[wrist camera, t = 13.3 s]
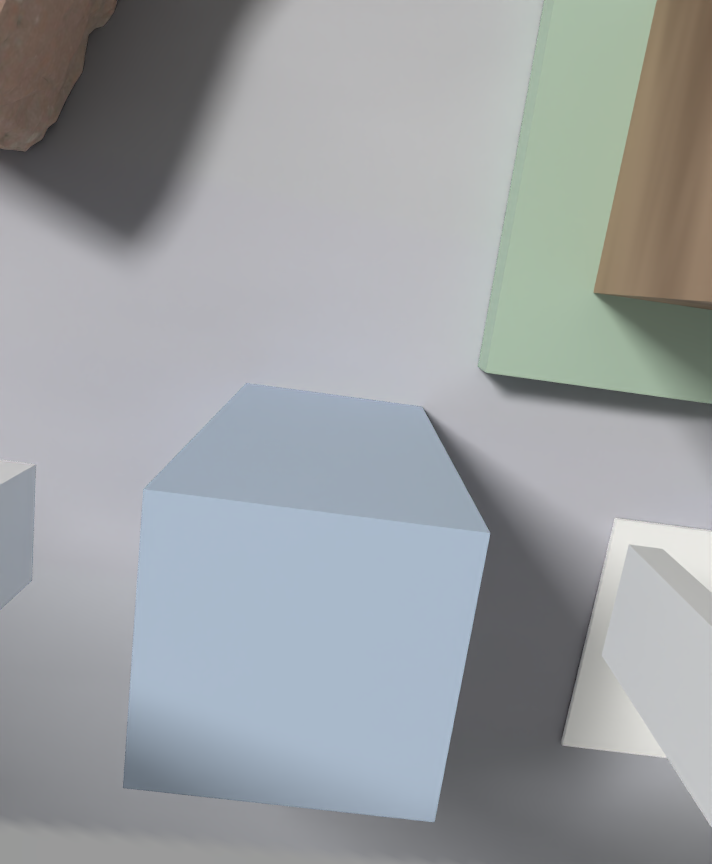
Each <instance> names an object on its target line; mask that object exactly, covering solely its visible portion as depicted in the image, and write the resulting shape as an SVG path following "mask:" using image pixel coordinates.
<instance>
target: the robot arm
mask: <svg viewBox="0 0 712 864" xmlns="http://www.w3.org/2000/svg"><path fill="white" fill-rule="evenodd" d="M35 478H36V464H30V463H23V462H15V461H8V460H0V610H1V609H2V608H3V607H4V606H5V605H6V604H7V603H8V602H9V601H10V600H11V599H13V598H14V597H15V596H16V595H17V594H18V593H19V592H20V591H21V590H22V589H23V588H24V587H26V586H27V585H28V584H29V583H30V582H31V581H32V565H33V536H34V507H35ZM602 657H603V658H604V660H605V661H606V663H607V664H608V666H609V668H610V669H611V671H612V672H613V674H614V675H615V677H616V678H617V680H618V682H619V683H620V685H621V686H622V688H623V689H624V691H625V693H626V694H627V696H628V697H629V699H630V700H631V702H632V704H633V705H634V707H635V708H636V710H637V711H638V713H639V715H640V716H641V718H642V719H643V721H644V722H645V724H646V726H647V727H648V729H649V730H650V732H651V733H652V735H653V737H654V738H655V740H656V741H657V743H658V744H659V746H660V747H661V749H662V751H663V752H664V754H665V755H666V757H667V758H668V760H669V762H670V763H671V765H672V766H673V768H674V769H675V771H676V773H677V774H678V776H679V777H680V779H681V780H682V782H683V784H684V785H685V787H686V788H687V790H688V791H689V793H690V795H691V796H692V798H693V799H694V801H695V802H696V804H697V806H698V807H699V809H700V810H701V812H702V813H703V815H704V816H705V818H706V820H707V821H708V823H709V824H710V826H711V827H712V593H711V592H710V591H709V590H708V589H707V588H706V587H705V586H704V585H702V584H701V583H700V582H699V581H698V580H697V579H696V578H695V577H694V576H692V575H691V574H690V573H689V572H688V571H687V570H686V569H685V568H684V567H682V566H681V565H680V564H679V563H678V562H677V561H676V560H675V559H673V558H672V557H671V556H670V555H669V554H668V553H667V552H666V551H665V550H663V549H660V548H653V547H645V546H638V545H631V544H629V546H628V550H627V554H626V558H625V562H624V566H623V570H622V574H621V578H620V582H619V586H618V591H617V595H616V599H615V603H614V607H613V611H612V615H611V619H610V623H609V627H608V631H607V635H606V639H605V644H604V648H603V652H602Z"/></svg>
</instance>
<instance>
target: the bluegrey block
mask: <svg viewBox="0 0 712 864" xmlns="http://www.w3.org/2000/svg"><path fill="white" fill-rule="evenodd" d="M489 538H490V532H489V530H488V528H487V526H486V524H485V522H484V520H483V519H482V517H481V515H480V513H479V511H478V509H477V507H476V506H475V504H474V502H473V500H472V498H471V496H470V494H469V493H468V491H467V489H466V487H465V485H464V483H463V482H462V480H461V478H460V476H459V474H458V472H457V470H456V469H455V467H454V465H453V463H452V461H451V459H450V457H449V456H448V454H447V452H446V450H445V448H444V446H443V444H442V443H441V441H440V439H439V437H438V435H437V433H436V432H435V430H434V428H433V426H432V424H431V422H430V420H429V419H428V417H427V415H426V413H425V411H424V409H423V407H421V406H414V405H406V404H399V403H391V402H384V401H376V400H369V399H361V398H354V397H346V396H339V395H331V394H324V393H316V392H309V391H301V390H294V389H286V388H279V387H271V386H264V385H256V384H249V383H246V384H245V385H244V386H243V387H242V388H241V389H240V390H239V391H238V392H237V393H236V394H235V395H234V396H233V397H232V398H231V399H230V400H229V401H228V403H227V404H226V405H225V406H224V407H223V408H222V409H221V410H220V411H219V412H218V413H217V414H216V415H215V416H214V417H213V418H212V419H211V420H210V421H209V422H208V423H207V424H206V425H205V426H204V427H203V428H202V429H201V430H200V431H199V432H198V433H197V434H196V436H195V437H194V438H193V439H192V440H191V441H190V442H189V443H188V444H187V445H186V446H185V447H184V448H183V449H182V450H181V451H180V452H179V453H178V454H177V455H176V456H175V457H174V458H173V459H172V460H171V461H170V462H169V463H168V464H167V465H166V466H165V467H164V469H163V470H162V471H161V472H160V473H159V474H158V475H157V476H156V477H155V478H154V479H153V480H152V481H151V482H150V483H149V484H148V485H147V486H146V487H145V488H144V489H143V503H142V517H141V532H140V547H139V561H138V576H137V590H136V605H135V620H134V634H133V649H132V663H131V678H130V693H129V707H128V722H127V736H126V751H125V766H124V780H123V788H127V789H137V790H146V791H155V792H164V793H173V794H182V795H191V796H200V797H209V798H218V799H227V800H237V801H246V802H255V803H264V804H273V805H282V806H291V807H300V808H309V809H318V810H327V811H336V812H346V813H355V814H364V815H373V816H382V817H391V818H400V819H409V820H418V821H427V822H435V817H436V812H437V807H438V801H439V796H440V791H441V786H442V781H443V776H444V770H445V765H446V760H447V755H448V750H449V745H450V739H451V734H452V729H453V724H454V719H455V714H456V708H457V703H458V698H459V693H460V688H461V683H462V677H463V672H464V667H465V662H466V657H467V652H468V646H469V641H470V636H471V631H472V626H473V621H474V615H475V610H476V605H477V600H478V595H479V590H480V584H481V579H482V574H483V569H484V564H485V559H486V553H487V548H488V543H489Z"/></svg>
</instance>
